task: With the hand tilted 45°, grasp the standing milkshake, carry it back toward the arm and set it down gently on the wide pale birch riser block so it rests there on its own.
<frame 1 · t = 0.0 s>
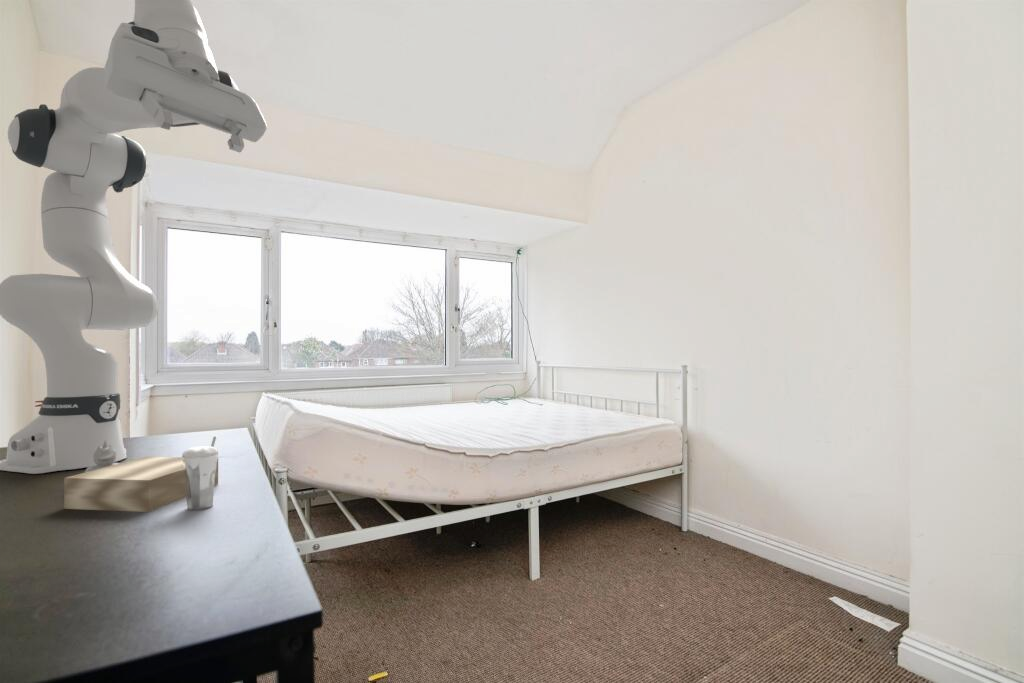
hand: (203, 137, 69), 54 cm above the table, tool tilted 30°, fingers open, 8 cm apart
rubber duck: (104, 485, 84), on the table
milkshake: (202, 507, 72), on the table
birch riser: (147, 498, 78), on the table
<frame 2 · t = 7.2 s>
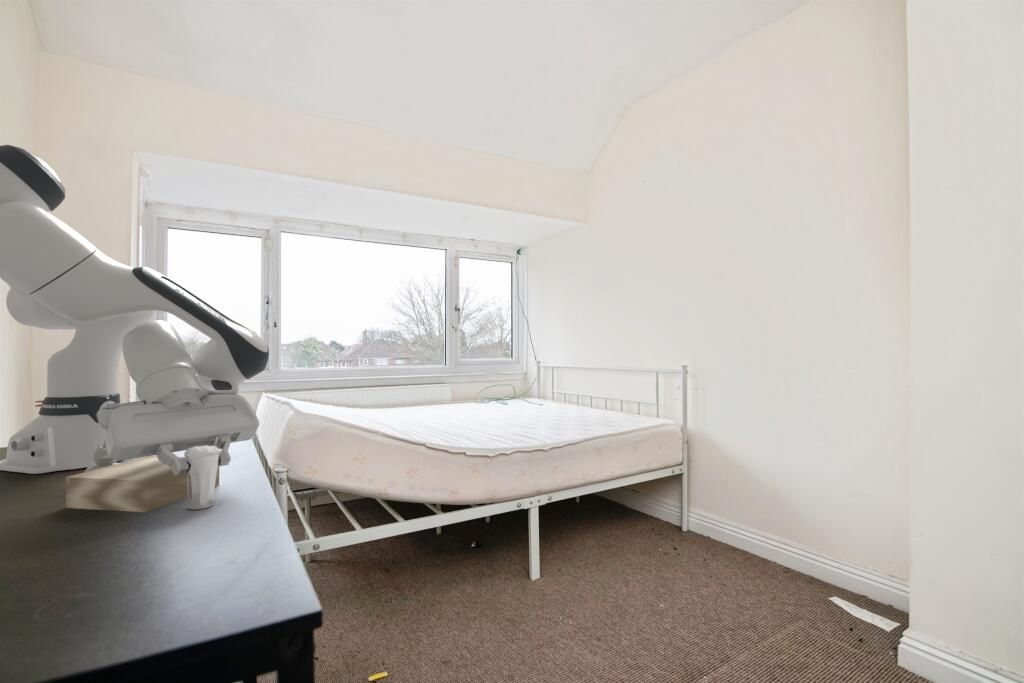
hand: (204, 467, 72), 6 cm above the table, tool tilted 45°, fingers closed on milkshake, 4 cm apart
milkshake: (202, 507, 72), on the table, touching gripper
everything else where it was.
when the fingers open (12 cm above the table, at t = 13.9 s): milkshake drops 1 cm, resting on birch riser.
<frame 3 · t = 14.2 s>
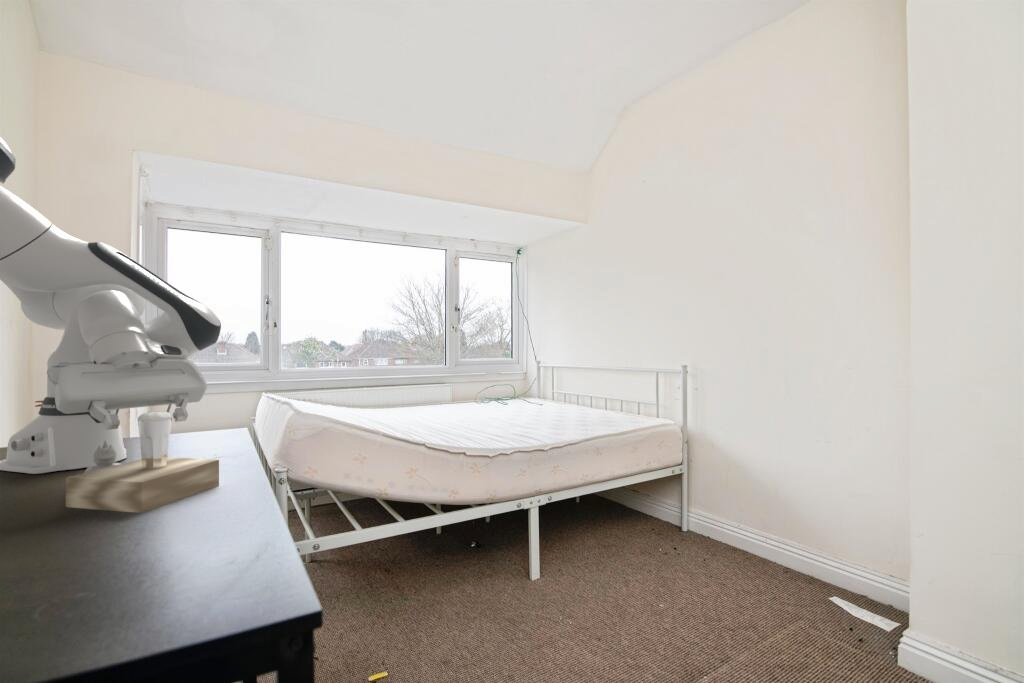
hand: (149, 422, 78), 12 cm above the table, tool tilted 45°, fingers open, 8 cm apart
milkshake: (156, 467, 79), point 4 cm above the table, touching birch riser
birch riser: (147, 498, 78), on the table, touching milkshake
everything else where it was.
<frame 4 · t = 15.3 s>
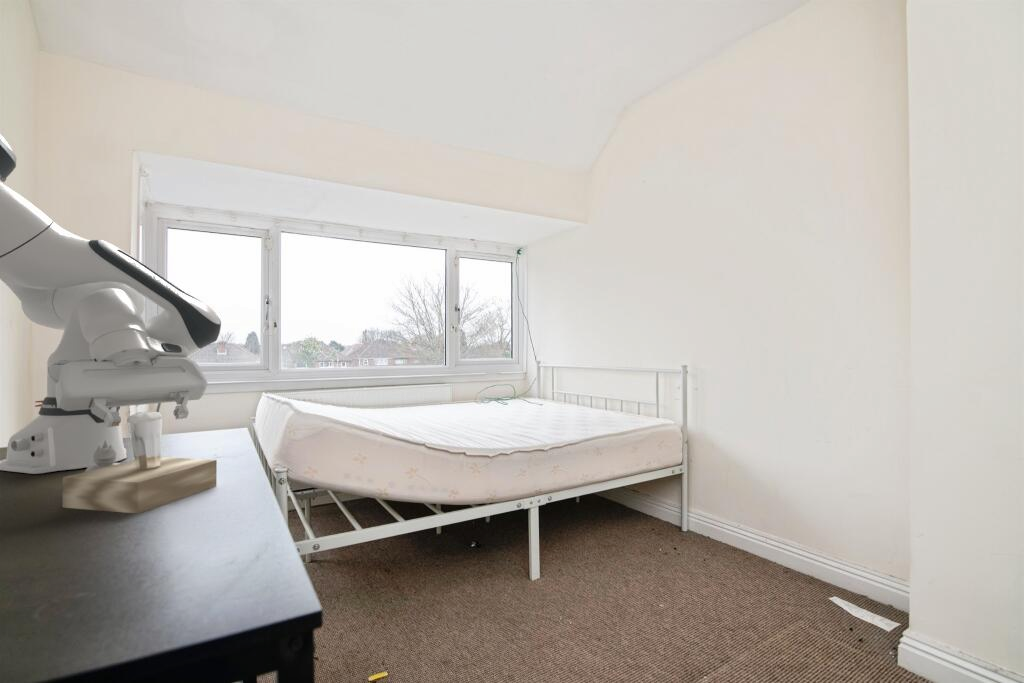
hand: (150, 420, 78), 12 cm above the table, tool tilted 45°, fingers open, 8 cm apart
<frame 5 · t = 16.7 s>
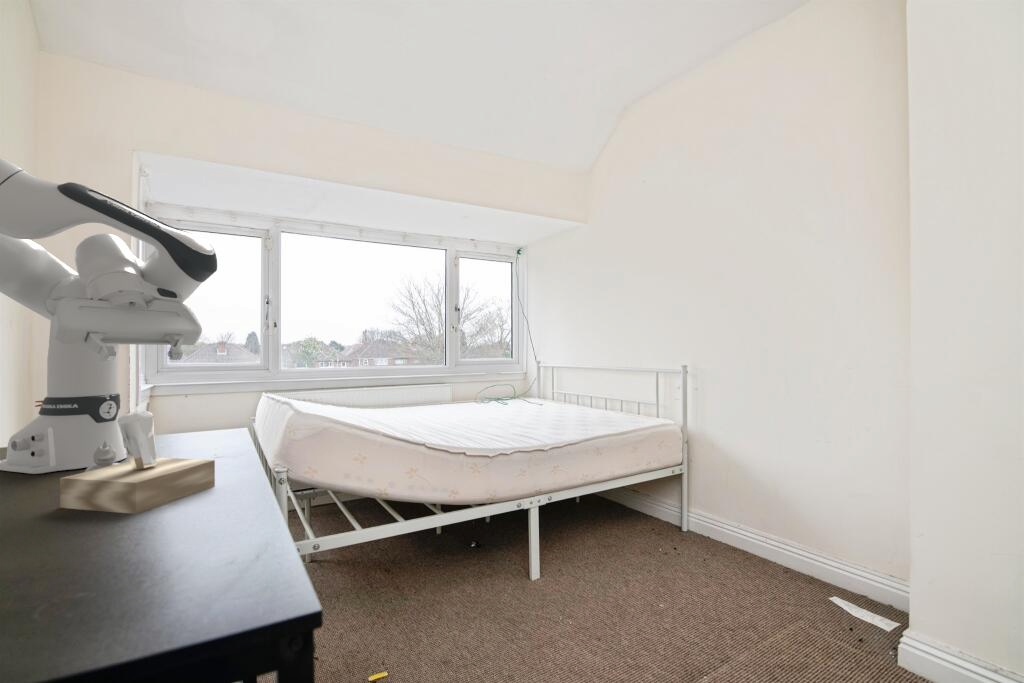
hand: (144, 357, 79), 22 cm above the table, tool tilted 45°, fingers open, 8 cm apart
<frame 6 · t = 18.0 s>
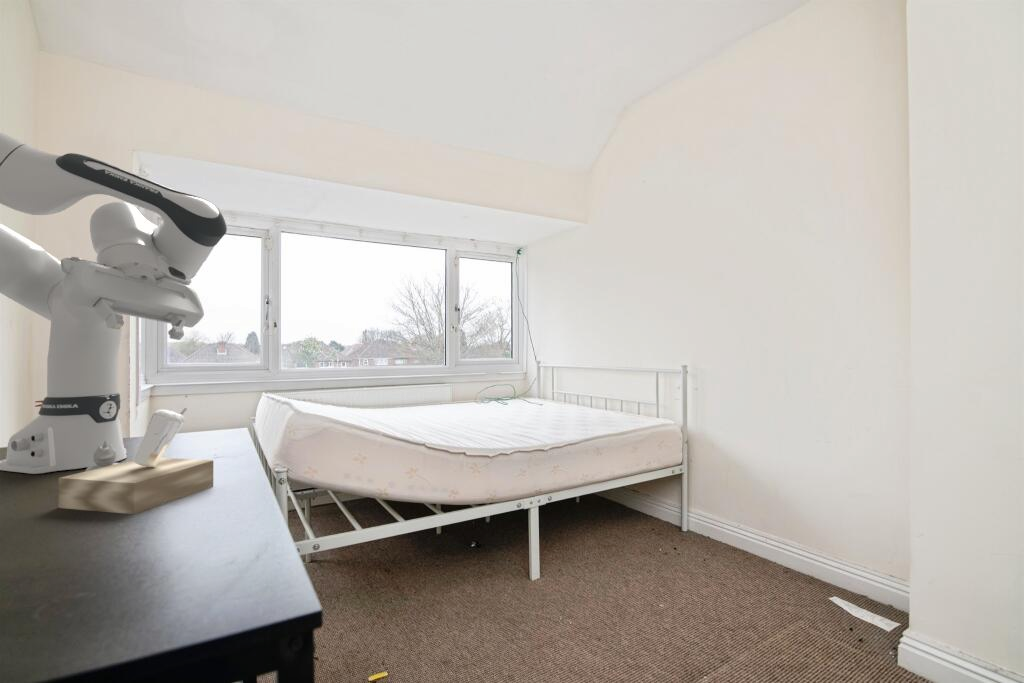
hand: (148, 332, 80), 27 cm above the table, tool tilted 40°, fingers open, 8 cm apart
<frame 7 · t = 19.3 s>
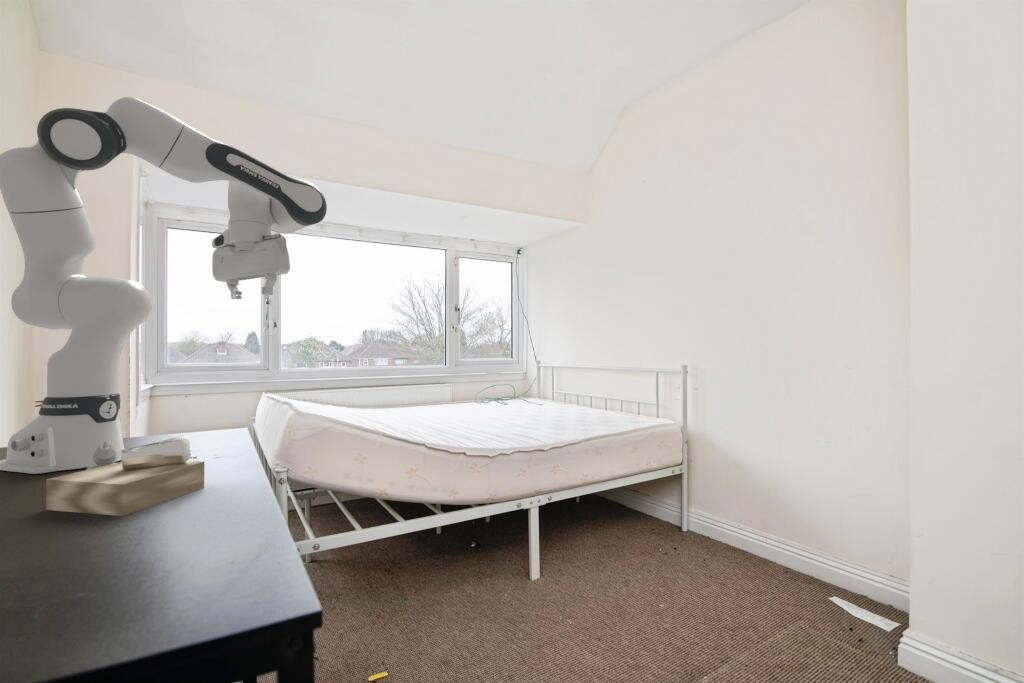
hand: (251, 297, 112), 36 cm above the table, tool pointing down, fingers open, 8 cm apart
milkshake: (120, 461, 76), point 6 cm above the table
birch riser: (130, 501, 77), on the table
everything else where it was.
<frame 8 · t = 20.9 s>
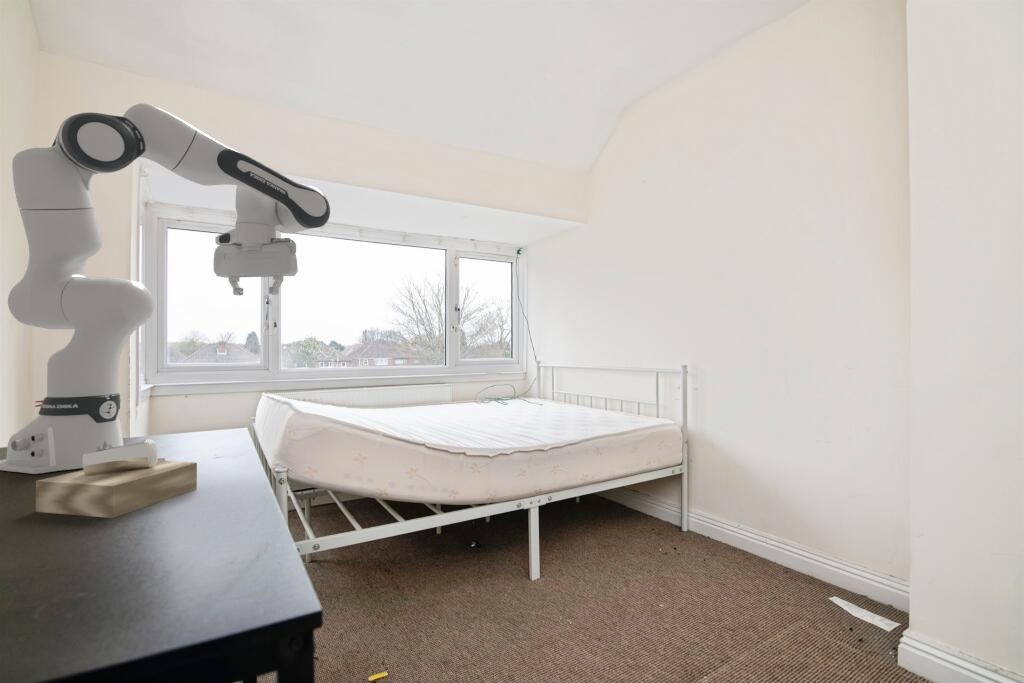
hand: (256, 294, 118), 37 cm above the table, tool pointing down, fingers open, 8 cm apart
milkshake: (82, 466, 74), point 6 cm above the table, touching birch riser
birch riser: (122, 502, 76), on the table, touching milkshake
everything else where it was.
at the end: milkshake inside the target area on the birch riser (5.2 cm from its centre), point 6.3 cm above the birch riser's base; milkshake point 5.8 cm above the table; the gripper is holding nothing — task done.
